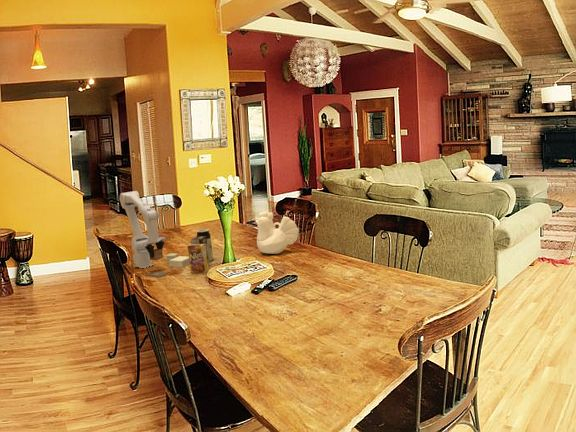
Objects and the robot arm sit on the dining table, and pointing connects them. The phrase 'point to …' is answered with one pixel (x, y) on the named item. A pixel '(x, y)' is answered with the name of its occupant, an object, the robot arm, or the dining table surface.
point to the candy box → (197, 258)
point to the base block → (179, 261)
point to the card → (157, 274)
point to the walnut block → (157, 254)
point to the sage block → (171, 257)
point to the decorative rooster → (275, 233)
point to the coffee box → (201, 241)
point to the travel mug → (206, 233)
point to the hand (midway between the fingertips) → (156, 256)
